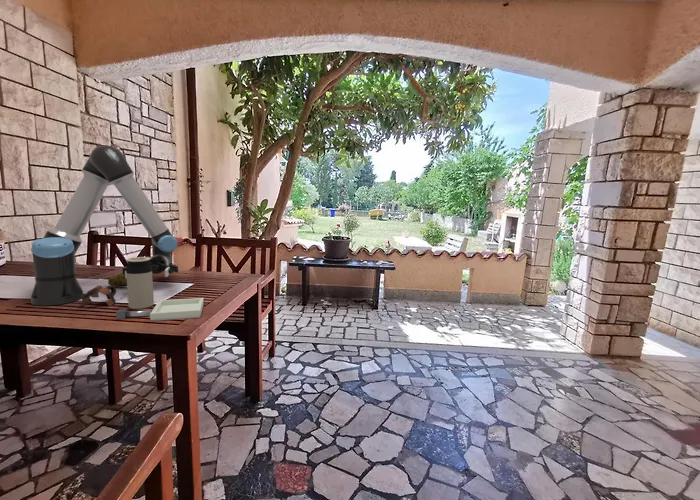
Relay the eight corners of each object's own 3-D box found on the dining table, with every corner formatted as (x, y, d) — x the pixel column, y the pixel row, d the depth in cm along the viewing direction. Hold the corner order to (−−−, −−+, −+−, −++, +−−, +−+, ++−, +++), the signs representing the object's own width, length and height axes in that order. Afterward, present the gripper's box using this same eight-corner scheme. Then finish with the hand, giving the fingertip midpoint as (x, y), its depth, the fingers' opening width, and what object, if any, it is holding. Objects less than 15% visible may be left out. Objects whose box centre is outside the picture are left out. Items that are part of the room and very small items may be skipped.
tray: (150, 321, 109) (150, 313, 109) (159, 306, 123) (159, 300, 123) (200, 317, 114) (199, 310, 114) (203, 304, 128) (203, 297, 128)
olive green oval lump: (123, 283, 153) (122, 266, 152) (145, 286, 150) (144, 268, 149) (105, 287, 146) (104, 269, 144) (128, 290, 142) (127, 272, 141)
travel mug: (142, 310, 119) (139, 261, 116) (123, 308, 120) (119, 259, 117) (158, 303, 126) (156, 257, 124) (140, 302, 128) (137, 256, 125)
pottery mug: (105, 310, 119) (89, 292, 116) (87, 319, 121) (71, 301, 118) (128, 293, 130) (114, 276, 127) (111, 301, 132) (96, 285, 130)
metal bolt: (116, 319, 109) (116, 311, 109) (119, 316, 112) (118, 309, 112) (149, 317, 113) (148, 309, 112) (151, 314, 115) (150, 307, 115)
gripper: (188, 271, 155) (182, 282, 135) (126, 273, 147) (109, 285, 127) (187, 255, 154) (181, 264, 134) (125, 256, 146) (108, 266, 126)
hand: (146, 274), depth 131 cm, fingers open, 13 cm apart
